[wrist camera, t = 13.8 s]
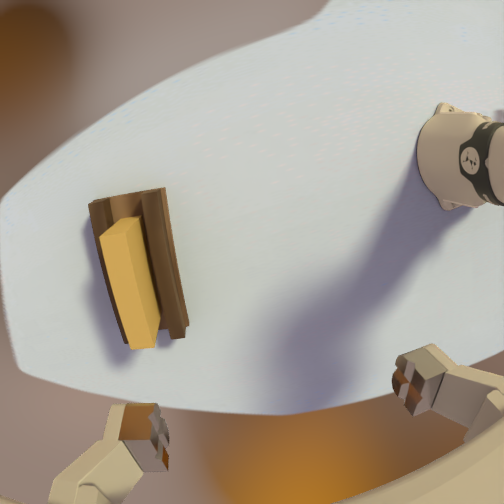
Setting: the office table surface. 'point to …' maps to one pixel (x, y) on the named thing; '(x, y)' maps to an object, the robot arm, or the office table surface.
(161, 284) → the sliding track
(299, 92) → the office table surface
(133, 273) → the door panel
